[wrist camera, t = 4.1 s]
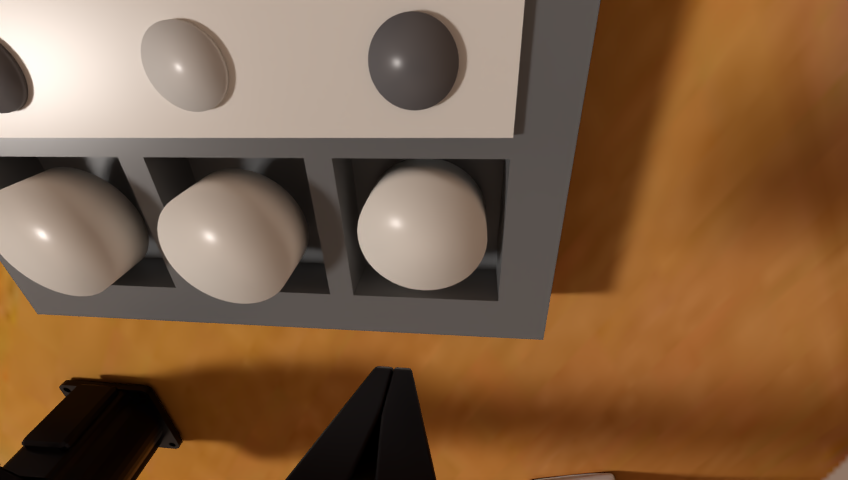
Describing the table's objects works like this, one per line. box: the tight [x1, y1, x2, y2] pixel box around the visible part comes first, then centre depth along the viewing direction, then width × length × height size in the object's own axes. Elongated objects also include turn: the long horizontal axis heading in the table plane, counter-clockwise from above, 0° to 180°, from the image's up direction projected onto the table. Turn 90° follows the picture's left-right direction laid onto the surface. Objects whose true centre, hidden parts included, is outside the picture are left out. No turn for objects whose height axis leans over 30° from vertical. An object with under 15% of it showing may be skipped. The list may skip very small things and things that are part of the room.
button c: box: [0, 167, 149, 296], centre depth 16 cm, size 5×5×2 cm
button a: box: [357, 159, 487, 290], centre depth 16 cm, size 5×5×2 cm
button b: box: [157, 168, 309, 304], centre depth 15 cm, size 5×5×2 cm
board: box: [0, 0, 601, 340], centre depth 16 cm, size 14×24×4 cm, turn 92°
